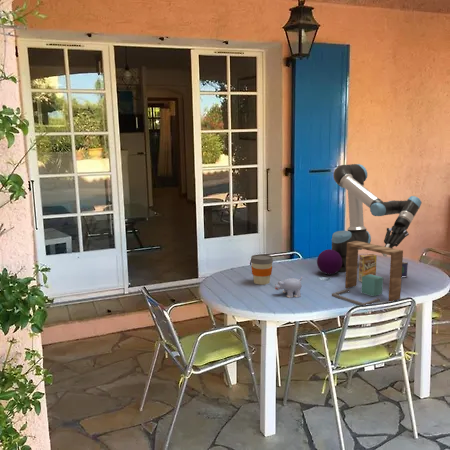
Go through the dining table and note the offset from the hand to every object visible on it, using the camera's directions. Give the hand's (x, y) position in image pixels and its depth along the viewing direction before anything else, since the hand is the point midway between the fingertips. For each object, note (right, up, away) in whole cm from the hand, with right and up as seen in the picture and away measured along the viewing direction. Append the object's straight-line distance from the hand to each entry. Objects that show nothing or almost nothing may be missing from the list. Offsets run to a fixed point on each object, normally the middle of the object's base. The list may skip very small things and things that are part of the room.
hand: (384, 254), depth 264 cm
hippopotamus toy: (-51, -21, -2) cm, 56 cm away
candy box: (-3, -16, +20) cm, 26 cm away
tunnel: (-7, -20, -2) cm, 22 cm away
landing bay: (-17, -22, -9) cm, 29 cm away
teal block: (-7, -20, -2) cm, 22 cm away
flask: (+18, -15, +27) cm, 35 cm away
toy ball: (-22, -14, +34) cm, 43 cm away
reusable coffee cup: (-64, -17, +19) cm, 69 cm away
